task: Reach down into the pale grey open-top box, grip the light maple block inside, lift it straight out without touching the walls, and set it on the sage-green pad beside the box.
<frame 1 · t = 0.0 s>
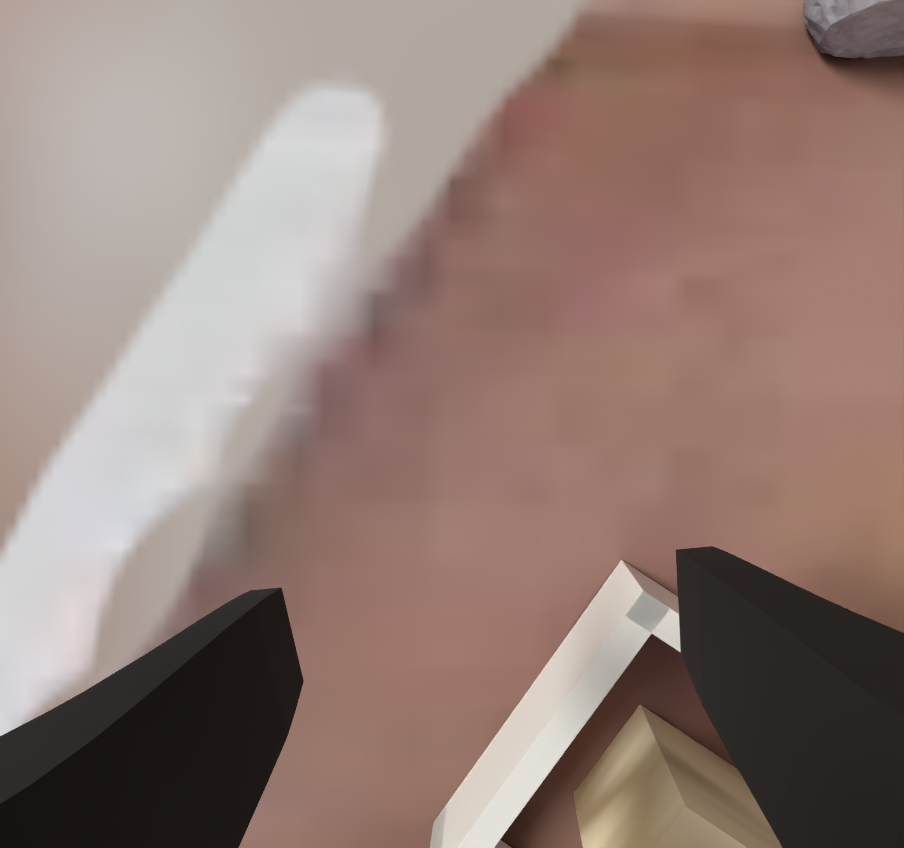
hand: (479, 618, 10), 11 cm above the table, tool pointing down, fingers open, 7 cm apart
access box: (656, 783, 20), on the table
wood block: (655, 781, 21), resting in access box
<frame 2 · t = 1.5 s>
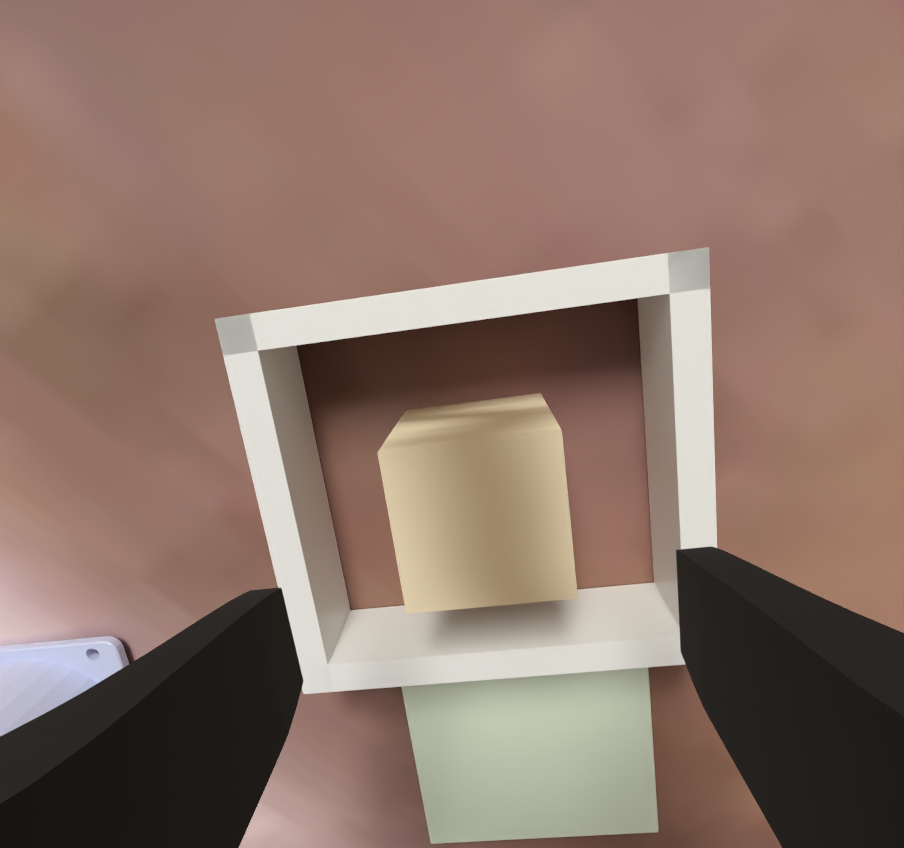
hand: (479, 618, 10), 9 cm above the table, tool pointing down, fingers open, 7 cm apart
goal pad: (529, 733, 21), on the table
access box: (481, 466, 18), on the table
wood block: (481, 465, 18), resting in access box
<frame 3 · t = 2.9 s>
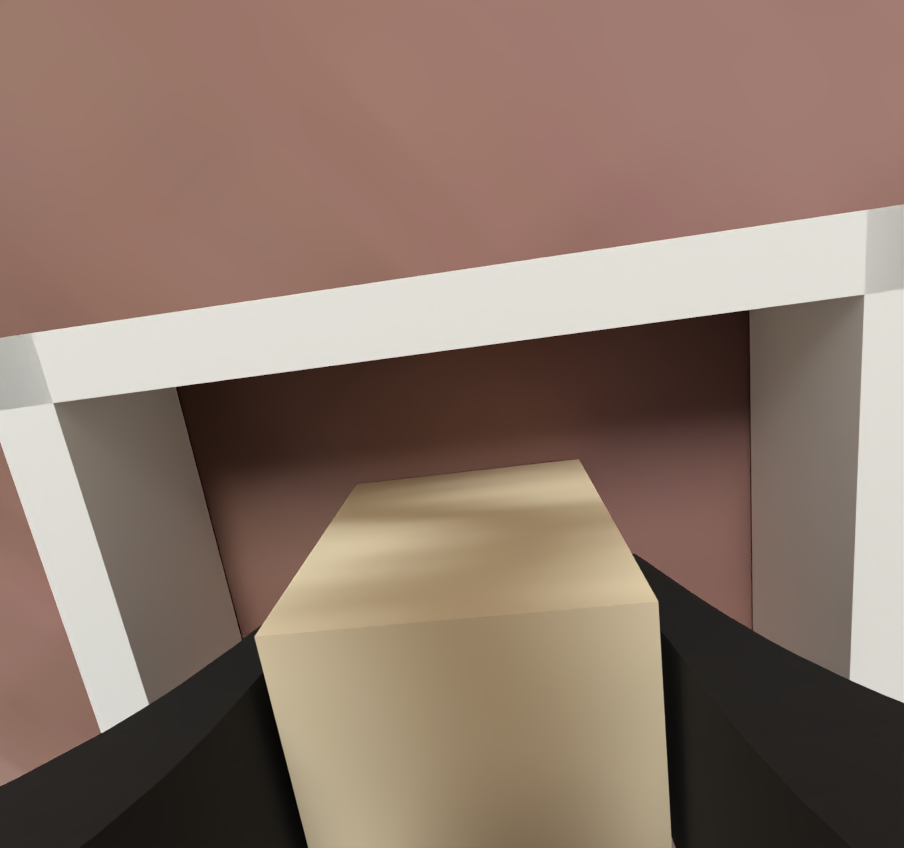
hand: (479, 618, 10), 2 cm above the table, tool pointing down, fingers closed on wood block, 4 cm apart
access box: (479, 573, 11), on the table
wood block: (479, 572, 11), resting in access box, touching gripper
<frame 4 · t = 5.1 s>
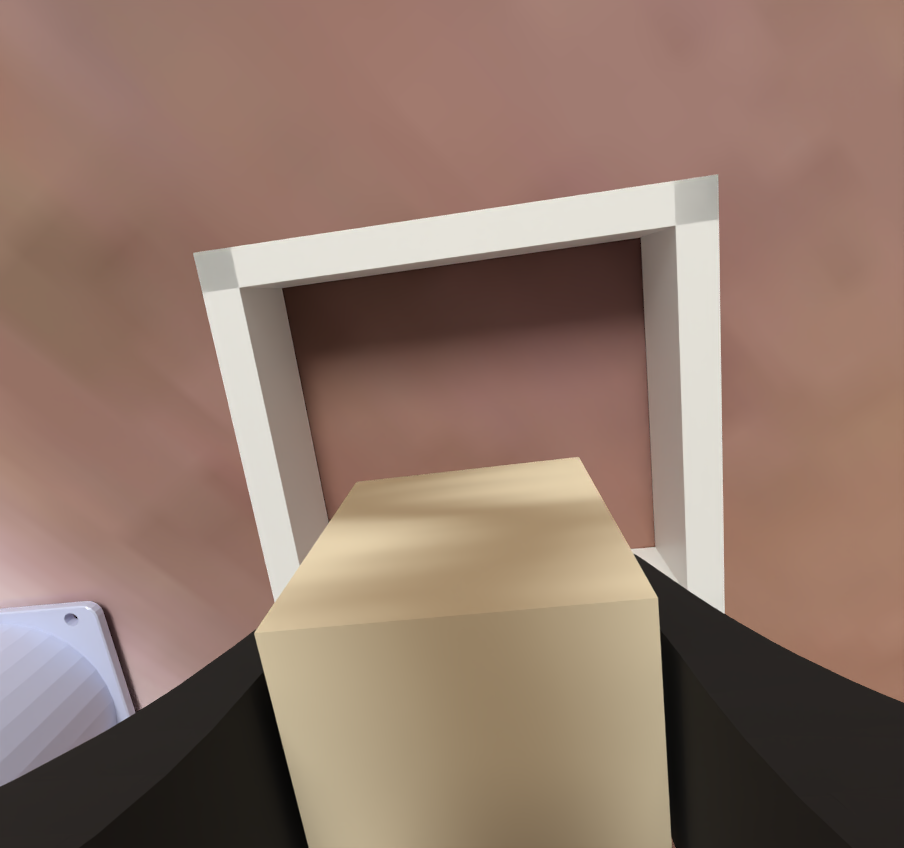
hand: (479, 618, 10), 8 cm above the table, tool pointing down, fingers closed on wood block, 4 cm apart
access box: (475, 422, 17), on the table
wood block: (479, 570, 11), point 7 cm above the table, touching gripper
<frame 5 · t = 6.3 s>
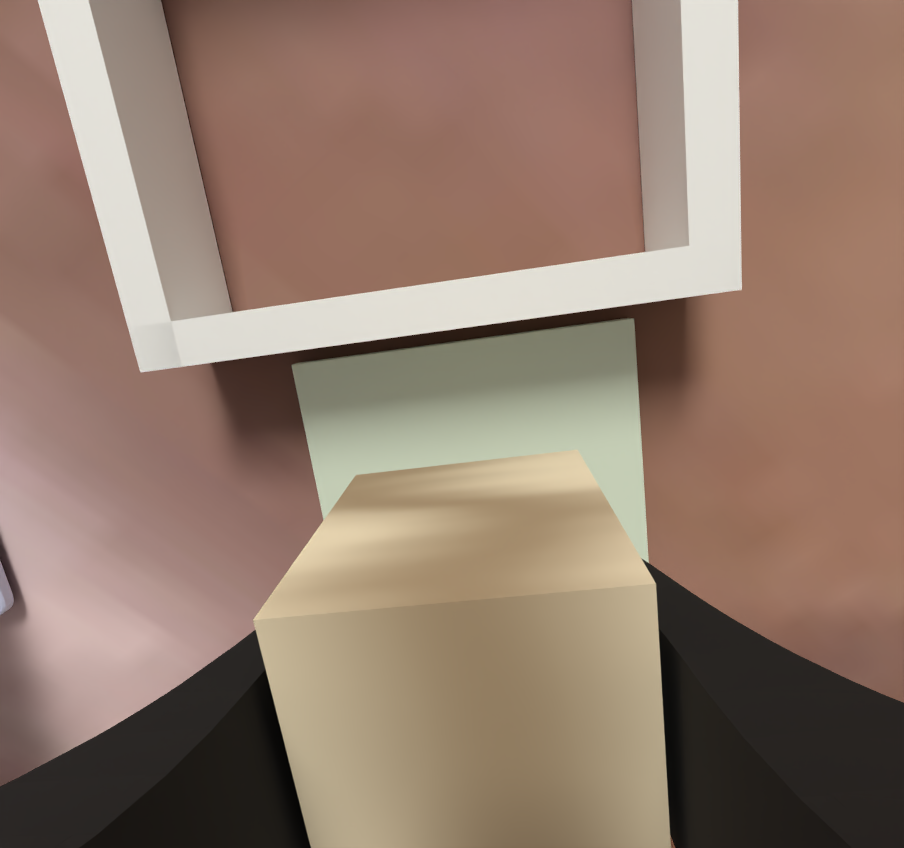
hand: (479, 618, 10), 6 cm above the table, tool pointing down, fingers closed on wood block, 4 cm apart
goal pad: (479, 496, 15), on the table
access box: (401, 75, 13), on the table
wood block: (478, 563, 11), point 4 cm above the table, touching gripper
when the fingers open (3 cm above the table, at t = 7.2 s): wood block stays where it is, resting on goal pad.
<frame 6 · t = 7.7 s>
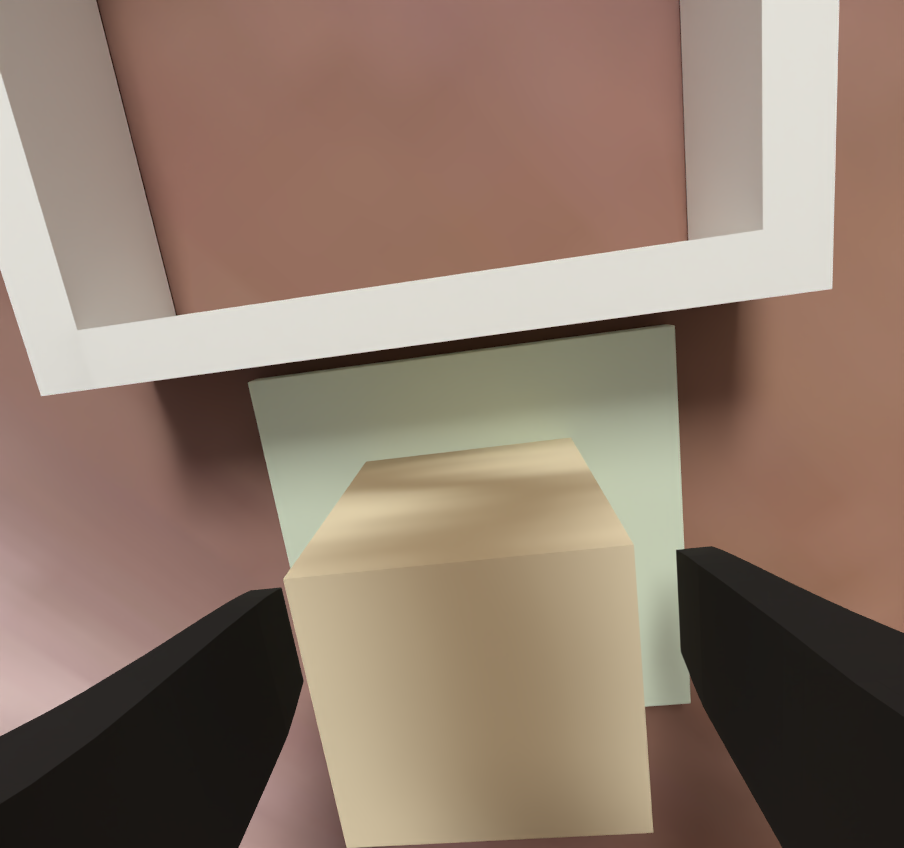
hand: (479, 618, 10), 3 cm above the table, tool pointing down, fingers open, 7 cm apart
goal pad: (480, 541, 13), on the table
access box: (382, 16, 10), on the table
wood block: (479, 544, 12), resting on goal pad
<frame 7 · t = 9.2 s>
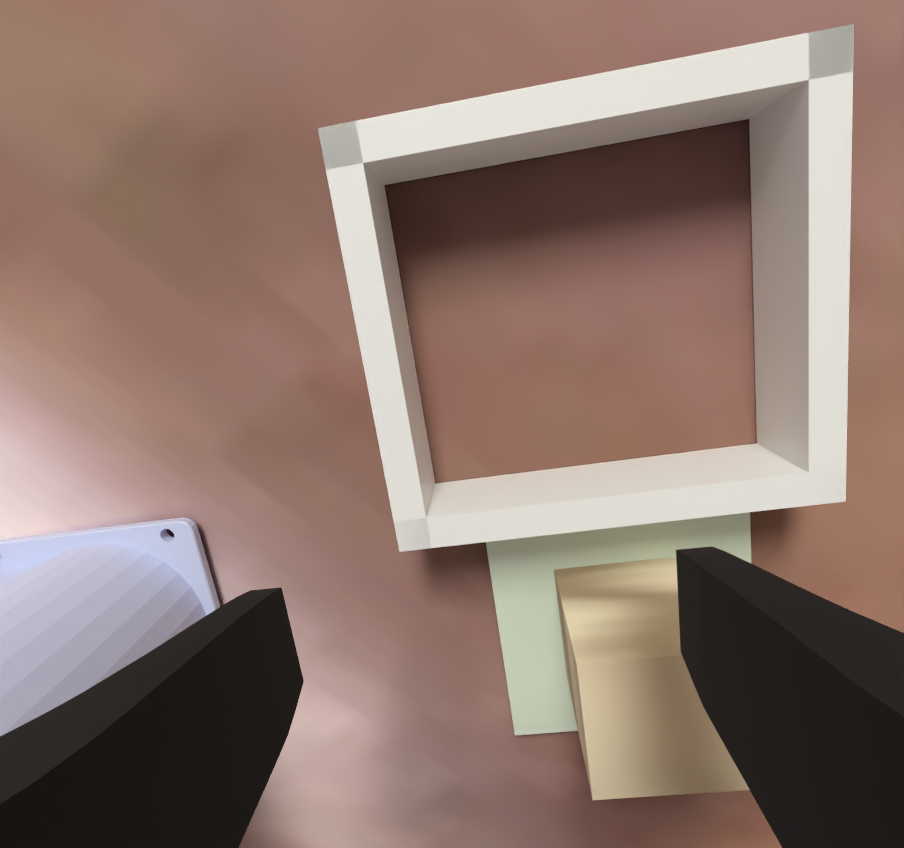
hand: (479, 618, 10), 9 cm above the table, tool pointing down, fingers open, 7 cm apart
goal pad: (620, 614, 20), on the table
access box: (577, 318, 17), on the table
wood block: (623, 618, 19), resting on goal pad
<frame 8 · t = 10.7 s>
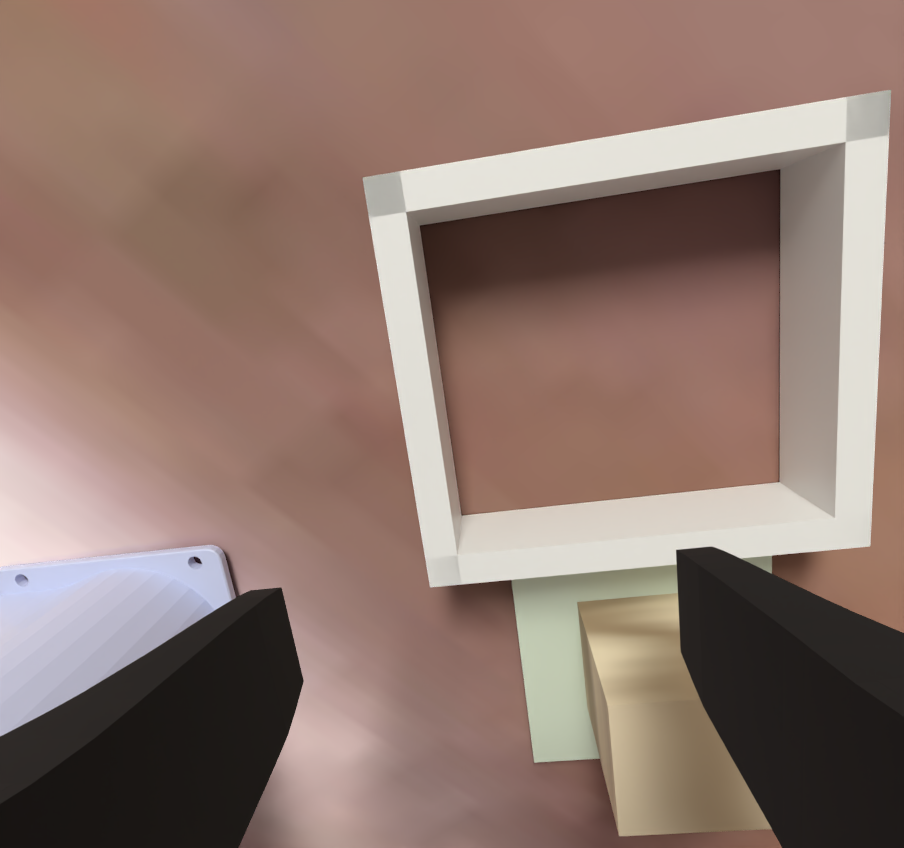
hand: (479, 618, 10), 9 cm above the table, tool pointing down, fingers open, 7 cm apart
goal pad: (640, 646, 20), on the table
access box: (606, 358, 18), on the table
wood block: (644, 650, 20), resting on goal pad
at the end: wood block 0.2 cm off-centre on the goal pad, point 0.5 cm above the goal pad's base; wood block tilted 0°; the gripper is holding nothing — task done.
